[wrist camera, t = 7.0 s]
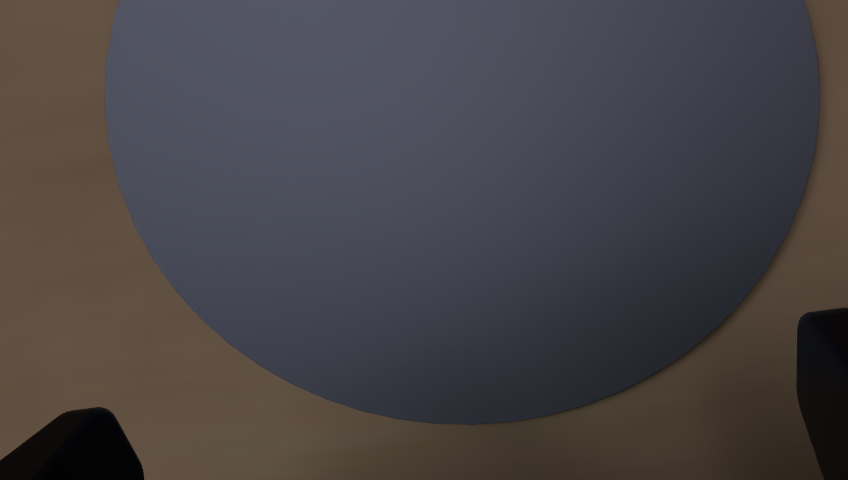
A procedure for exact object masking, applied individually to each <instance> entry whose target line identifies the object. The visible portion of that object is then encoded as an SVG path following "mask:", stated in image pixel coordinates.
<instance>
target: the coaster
mask: <svg viewBox="0 0 848 480" xmlns="http://www.w3.org/2000/svg"><path fill="white" fill-rule="evenodd" d="M819 107H820V100H819V78H818V58H817V53H816V48H815V43H814V38H813V33H812V29H811V24H810V19H809V14H808V10H807V8H806V5H805V2H804V0H120V2H119V5H118V7H117V10H116V13H115V17H114V22H113V27H112V33H111V38H110V44H109V49H108V55H107V60H106V87H105V109H106V119H107V129H108V138H109V147H110V151H111V155H112V159H113V163H114V167H115V171H116V175H117V179H118V183H119V187H120V189H121V192H122V195H123V197H124V200H125V202H126V205H127V207H128V210H129V213H130V215H131V218H132V220H133V223H134V225H135V227H136V229H137V230H138V232H139V234H140V236H141V238H142V240H143V242H144V243H145V245H146V247H147V249H148V251H149V253H150V254H151V256H152V258H153V260H154V261H155V262H156V264H157V265H158V267H159V268H160V269H161V271H162V272H163V274H164V275H165V277H166V278H167V279H168V281H169V282H170V284H171V285H172V286H173V288H174V289H175V290H176V292H177V293H178V294H179V295H180V296H181V297H182V298H183V299H184V300H185V302H186V303H187V304H188V305H189V306H190V307H191V308H192V309H193V311H194V312H195V313H196V314H197V315H198V316H199V317H200V318H201V319H202V320H203V321H204V322H205V323H206V324H207V325H209V326H210V327H211V328H212V329H213V330H214V331H215V332H216V333H217V334H219V335H220V336H221V337H222V338H223V339H224V340H225V341H226V342H228V343H229V344H230V345H231V346H233V347H234V348H236V349H237V350H238V351H240V352H241V353H243V354H244V355H245V356H247V357H248V358H250V359H251V360H252V361H254V362H255V363H257V364H258V365H259V366H261V367H263V368H265V369H266V370H268V371H270V372H272V373H273V374H275V375H277V376H279V377H280V378H282V379H284V380H286V381H287V382H289V383H291V384H293V385H295V386H297V387H300V388H302V389H304V390H306V391H309V392H311V393H313V394H315V395H318V396H320V397H322V398H325V399H327V400H330V401H333V402H336V403H339V404H342V405H345V406H348V407H351V408H354V409H357V410H361V411H364V412H369V413H373V414H378V415H382V416H387V417H391V418H396V419H402V420H410V421H418V422H427V423H435V424H472V425H473V424H487V423H501V422H512V421H518V420H524V419H530V418H535V417H541V416H547V415H551V414H554V413H558V412H562V411H565V410H569V409H573V408H576V407H580V406H584V405H586V404H589V403H591V402H594V401H597V400H599V399H602V398H604V397H607V396H609V395H612V394H615V393H617V392H620V391H622V390H624V389H625V388H627V387H629V386H631V385H633V384H635V383H637V382H639V381H641V380H643V379H645V378H647V377H649V376H651V375H653V374H655V373H656V372H658V371H659V370H661V369H662V368H664V367H665V366H667V365H668V364H670V363H671V362H673V361H674V360H676V359H677V358H679V357H680V356H682V355H683V354H685V353H686V352H688V351H689V350H690V349H691V348H692V347H694V346H695V345H696V344H697V343H699V342H700V341H701V340H702V339H703V338H705V337H706V336H707V335H708V334H709V333H711V332H712V331H713V330H714V329H715V328H717V327H718V325H719V324H720V323H721V322H722V321H723V320H724V319H725V318H726V317H727V316H728V315H729V314H730V313H731V312H732V311H733V310H734V309H735V308H736V307H737V306H738V305H739V304H740V302H741V301H742V300H743V299H744V298H745V297H746V296H747V294H748V293H749V292H750V290H751V289H752V287H753V286H754V285H755V283H756V282H757V281H758V279H759V278H760V277H761V275H762V274H763V273H764V271H765V270H766V269H767V267H768V266H769V264H770V263H771V261H772V259H773V257H774V255H775V254H776V252H777V250H778V248H779V247H780V245H781V243H782V241H783V240H784V238H785V236H786V234H787V233H788V231H789V229H790V226H791V224H792V221H793V219H794V216H795V214H796V211H797V209H798V206H799V204H800V201H801V199H802V196H803V194H804V191H805V188H806V184H807V180H808V176H809V172H810V168H811V164H812V160H813V156H814V152H815V146H816V136H817V126H818V116H819Z"/></svg>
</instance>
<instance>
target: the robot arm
mask: <svg viewBox="0 0 848 480" xmlns="http://www.w3.org/2000/svg"><path fill="white" fill-rule="evenodd" d="M797 396H798V401H799V406H800V410H801V413H802V416H803V419H804V422H805V425H806V428H807V431H808V434H809V437H810V440H811V443H812V445H813V448H814V451H815V454H816V457H817V460H818V463H819V466H820V469H821V471H822V474H823V477H824V480H848V308H838V309H830V310H823V311H815V312H808V313H805V314H804V315H803V316H802V317H801V318H800V320H799V323H798V330H797ZM0 480H144V472H143V469H142V465H141V463H140V461H139V459H138V457H137V455H136V453H135V452H134V450H133V448H132V446H131V444H130V442H129V441H128V439H127V437H126V435H125V433H124V432H123V430H122V428H121V426H120V424H119V423H118V421H117V419H116V417H115V416H114V414H113V413H112V412H110V411H109V410H108V409H106V408H102V407H95V408H87V409H80V410H72V411H68V412H65V413H63V414H61V415H59V416H58V417H57V418H55V419H54V420H53V421H51V422H50V423H49V424H48V425H46V426H45V427H44V428H42V429H41V430H40V431H38V432H37V433H36V434H34V435H33V436H32V437H30V438H29V439H28V440H27V441H25V442H24V443H23V444H21V445H20V446H19V447H17V448H16V449H15V450H13V451H12V452H11V453H9V454H8V455H7V456H6V457H4V458H3V459H2V460H0Z"/></svg>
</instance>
